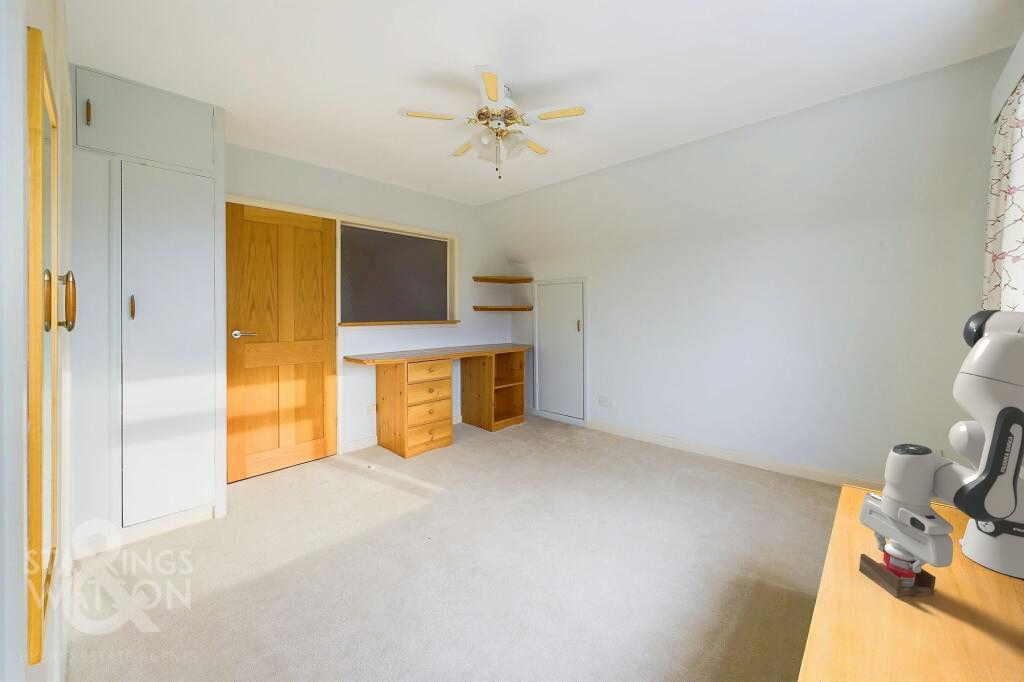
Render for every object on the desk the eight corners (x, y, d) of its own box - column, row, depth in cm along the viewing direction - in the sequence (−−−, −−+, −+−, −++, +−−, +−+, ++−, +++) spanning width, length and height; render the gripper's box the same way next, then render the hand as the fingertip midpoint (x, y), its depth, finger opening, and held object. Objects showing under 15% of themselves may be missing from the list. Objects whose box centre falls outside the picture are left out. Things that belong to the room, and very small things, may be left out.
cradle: (893, 568, 113) (895, 551, 113) (933, 595, 103) (935, 577, 103) (858, 570, 112) (860, 553, 112) (896, 597, 103) (898, 579, 102)
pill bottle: (886, 569, 112) (890, 530, 110) (917, 583, 106) (922, 542, 105) (877, 578, 108) (882, 538, 107) (909, 592, 103) (914, 550, 102)
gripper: (855, 490, 115) (850, 537, 117) (937, 532, 95) (929, 589, 97) (876, 489, 116) (871, 536, 117) (962, 531, 96) (954, 587, 97)
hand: (898, 560), depth 107 cm, fingers open, 6 cm apart
